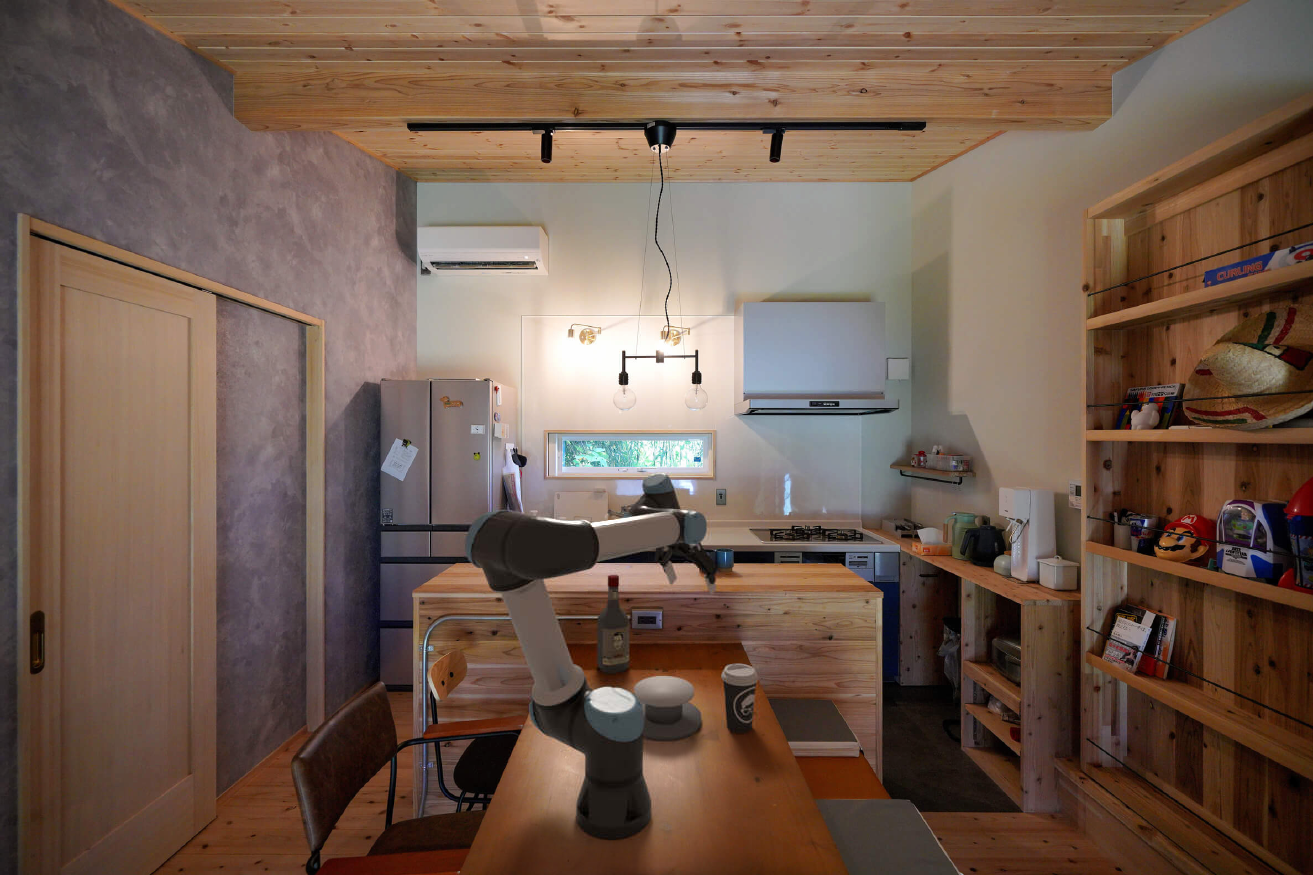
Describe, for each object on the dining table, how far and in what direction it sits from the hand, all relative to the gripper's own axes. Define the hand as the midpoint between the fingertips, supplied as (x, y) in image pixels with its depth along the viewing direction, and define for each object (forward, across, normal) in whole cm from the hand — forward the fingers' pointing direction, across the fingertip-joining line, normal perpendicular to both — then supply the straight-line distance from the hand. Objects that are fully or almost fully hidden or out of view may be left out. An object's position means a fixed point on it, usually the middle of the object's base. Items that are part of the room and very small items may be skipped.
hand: (693, 586), depth 160 cm
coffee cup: (+28, -17, +19) cm, 38 cm away
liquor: (+32, +34, +14) cm, 49 cm away
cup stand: (+23, 0, +27) cm, 36 cm away
